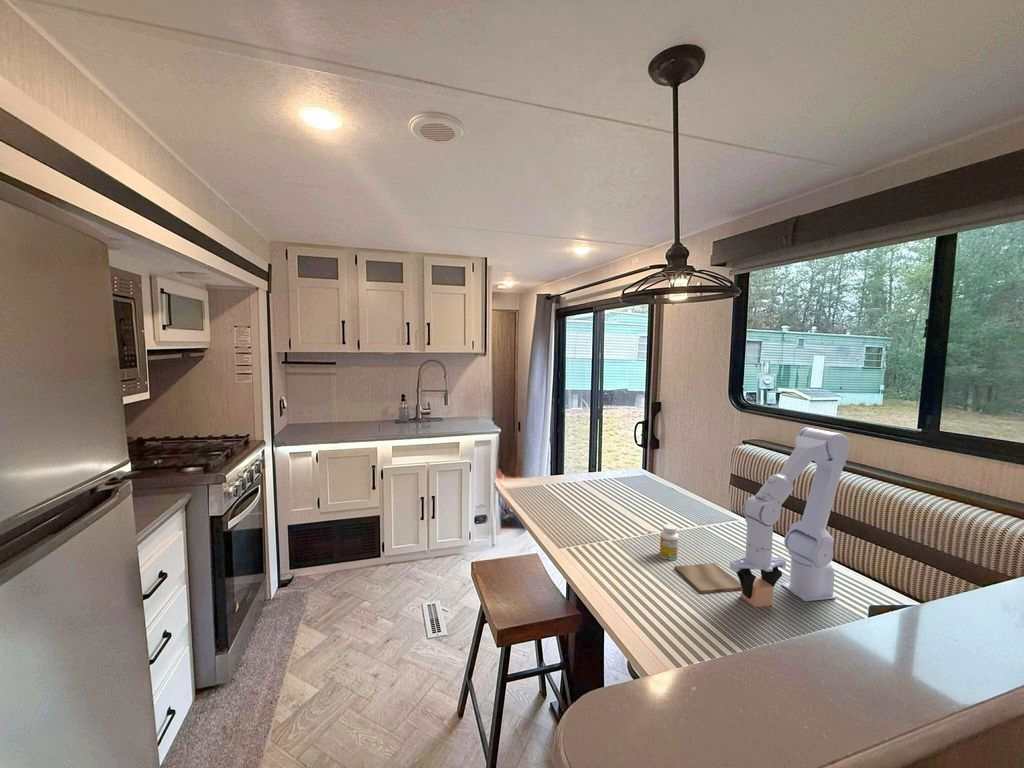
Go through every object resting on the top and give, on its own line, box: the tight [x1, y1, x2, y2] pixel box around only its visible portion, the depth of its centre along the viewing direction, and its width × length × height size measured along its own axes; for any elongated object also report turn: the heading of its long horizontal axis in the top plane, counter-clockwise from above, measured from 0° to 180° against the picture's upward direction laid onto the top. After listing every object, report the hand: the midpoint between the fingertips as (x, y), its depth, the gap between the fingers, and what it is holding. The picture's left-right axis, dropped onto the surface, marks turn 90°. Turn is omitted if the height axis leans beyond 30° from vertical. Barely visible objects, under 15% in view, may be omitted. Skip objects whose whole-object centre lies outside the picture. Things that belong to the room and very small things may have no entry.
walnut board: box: [673, 562, 741, 594], centre depth 118 cm, size 13×13×1 cm
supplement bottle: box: [659, 523, 680, 561], centre depth 131 cm, size 5×5×10 cm
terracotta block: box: [740, 575, 774, 608], centre depth 108 cm, size 5×5×5 cm
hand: (756, 595), depth 108 cm, fingers closed on terracotta block, 5 cm apart
